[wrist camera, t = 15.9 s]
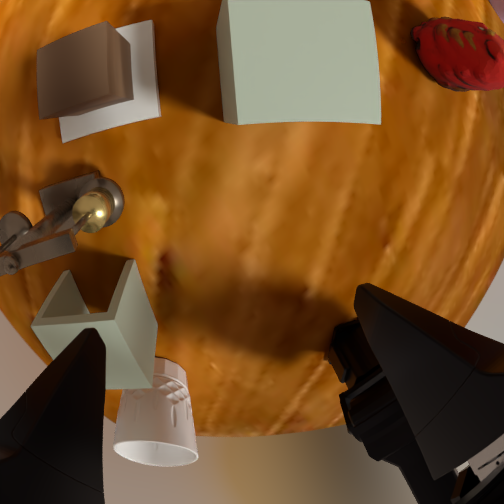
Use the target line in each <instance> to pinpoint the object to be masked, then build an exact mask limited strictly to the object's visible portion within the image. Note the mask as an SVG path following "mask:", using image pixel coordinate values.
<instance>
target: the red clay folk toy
mask: <svg viewBox="0 0 504 504" xmlns="http://www.w3.org/2000/svg"><path fill="white" fill-rule="evenodd" d="M411 36H412V38H413V39H414V41H416V42H417V47H416V52H417V54H418V56H419V58H420V61H421V63H422V64H423V66H424V67H425V69H426V70H427V71H428V73H429V74H430V75H431V76H432V77H434V78H435V80H436V81H437V83H438V84H439V85H440V86H442V87H444V88H447V89H451V90H453V91H468V90H484V91H489V90H493V89H501V88H503V87H504V40H503V39H502V38H501V37H500V36H498V35H497V34H496V33H495V32H493V31H492V30H490V29H487V27H486V26H485V25H484V24H483V23H480V22H472V21H465V20H461V19H452V18H449V17H441V18H431V19H429V21H428V22H422V24H421V25H420V26H417V27H414V28H413V29H412V30H411Z"/></svg>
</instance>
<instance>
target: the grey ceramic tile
mask: <svg viewBox="0 0 504 504" xmlns="http://www.w3.org/2000/svg"><path fill="white" fill-rule="evenodd" d="M116 30H117V31H118V32H119V33H120V34H121V35H122V36H123V37H124V38H125V39H126V40H127V41H128V42H129V43H130V45H131V68H132V82H133V94H134V100H130V101H126V102H122V103H118V104H115V105H111V106H107V107H104V108H101V109H97V110H94V111H91V112H88V113H85V114H82V115H79V116H68V117H59V121H60V129H61V136H62V142H63V143H65V142H69V141H72V140H74V139H77V138H80V137H84V136H87V135H90V134H93V133H96V132H100V131H103V130H107V129H110V128H114V127H118V126H121V125H125V124H129V123H134V122H138V121H142V120H147V119H152V118H156V117H161V110H160V100H159V90H158V79H157V67H156V52H155V32H154V23H153V21H152V20H148V21H143V22H139V23H135V24H131V25H127V26H124V27H120V28H117V29H116Z"/></svg>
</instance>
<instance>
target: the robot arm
mask: <svg viewBox="0 0 504 504" xmlns="http://www.w3.org/2000/svg"><path fill="white" fill-rule="evenodd" d="M354 309H355V312H356V314H357V317H358V319H359V320H356V321H352V322H349V323H345V324H341V325H338V326H336V327H335V329H334V334H333V339H332V343H331V345H330V350H329V355H328V358H329V359H328V362H329V364H332V366H333V368H334V370H335V372H336V374H337V376H338V379H339V381H340V382H341V383H344V382H345V383H346V385H347V387H348V390H347V391H345V392H342V393H341V394H339V397H340V404H341V407H342V411H343V414H344V418H345V421H346V425H347V430H348V433H349V434H352V435H353V436H354V437H355V438H356V439H357V440H358V441H360V442H363V444H364V446H365V448H366V450H367V452H368V455H369V456H370V457H371V458H373V459H374V460H376V461H380V460H384V461H386V462H388V463H390V464H393V465H395V466H397V467H399V469H400V471H401V472H402V474H403V476H404V478H405V480H406V482H407V484H408V485H409V487H410V489H411V491H412V493H413V495H414V497H415V499H416V501H417V502H418V504H504V344H503V343H500V342H498V341H495V340H493V339H490V338H488V337H485V336H483V335H480V334H478V333H475V332H473V331H470V330H468V329H466V328H464V327H462V326H460V325H457V324H455V323H453V322H451V321H450V322H449V320H447V319H445V318H443V317H441V316H439V315H437V314H434V313H432V312H430V311H428V310H426V309H424V308H422V307H420V306H418V305H415V304H413V303H411V302H409V301H407V300H405V299H403V298H400V297H398V296H396V295H394V294H392V293H390V292H388V291H385V290H383V289H381V288H379V287H377V286H374V285H372V284H370V283H365V284H361V285H358V287H357V289H356V294H355V300H354ZM105 391H106V346H105V343H104V341H103V340H102V338H101V336H100V334H99V333H98V331H97V329H96V328H85V329H83V330H82V331H81V332H80V333H79V334H78V335H77V336H76V337H75V338H74V339H73V340H72V341H71V342H70V343H69V344H68V345H67V347H66V348H65V349H64V350H63V351H62V352H61V353H60V354H59V355H58V356H57V357H56V358H55V359H54V360H53V361H52V362H51V363H50V364H49V365H48V367H47V368H46V369H45V370H44V371H43V372H42V373H41V374H40V375H39V377H37V379H36V380H35V381H34V382H33V383H32V384H31V385H30V386H29V388H28V389H27V390H26V392H24V393H23V395H22V396H21V397H20V398H19V399H18V400H17V402H16V403H15V404H14V405H13V406H12V407H11V408H10V409H9V410H8V411H7V412H6V414H5V415H3V417H2V418H1V419H0V504H105V500H104V493H103V492H104V489H103V464H102V444H103V418H104V403H105ZM466 461H468V463H469V465H468V466H467V467H466V468H465V469H463V470H462V471H461V472H459V473H458V471H457V469H456V468H457V467H458V466H460V465H461V464H463V463H465V462H466Z"/></svg>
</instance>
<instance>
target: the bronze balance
mask: <svg viewBox="0 0 504 504" xmlns="http://www.w3.org/2000/svg"><path fill="white" fill-rule="evenodd" d="M39 193H40V197H41V201H42V204H43V208H44V211H45V214H46V216H45V217H44V218H43V219H41V220H40V221H39V222H38V223H37V224H36V225H35V226H32V224H31V222H30V221H29V219H28V218H27V217H26V216H25V215H24V214H23V213H21V212H19V211H10V212H9V213H7V214H6V215H4V216H3V217H2V219H1V220H0V242H1V244H2V245H1V246H0V276H2V275H4V274H7V273H8V274H11V275H12V274H15V273H16V272H17V271H18V270H19V269H22V268H25V267H28V266H31V265H34V264H37V263H40V262H43V261H46V260H49V259H52V258H55V257H59V256H62V255H65V254H68V253H72V252H75V251H76V248H77V246H78V244H77V241H76V238H75V235H76V234H77V233H78V231H79V230H80V229H81V230H82V231H84V232H87V233H94V232H97V231H99V230H100V229H101V228H102V227H107V226H110V225H112V224H113V223H115V222H116V221H117V220H118V218H119V217H120V215H121V214H122V212H123V209H124V195H123V192H122V190H121V188H120V187H119V185H118V184H117V183H116V182H114V181H113V180H111V179H109V178H105V177H100V173H99V171H95V172H91V173H88V174H84V175H81V176H77V177H74V178H71V179H67V180H64V181H61V182H58V183H55V184H52V185H49V186H46V187H44V188H42V189H41V190H39Z"/></svg>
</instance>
